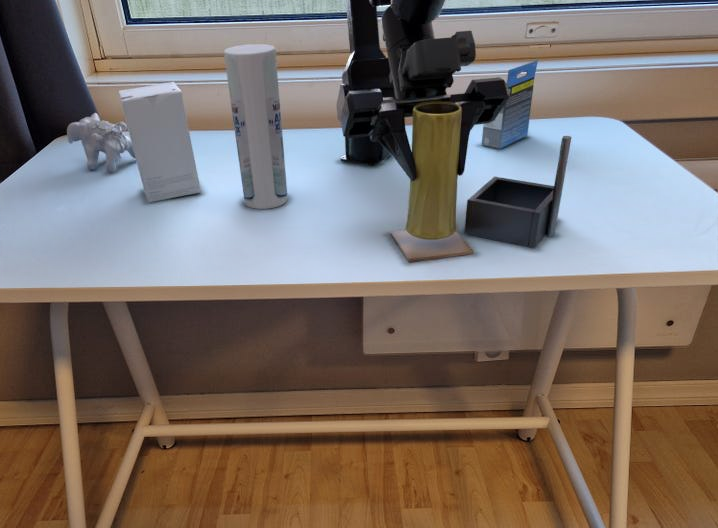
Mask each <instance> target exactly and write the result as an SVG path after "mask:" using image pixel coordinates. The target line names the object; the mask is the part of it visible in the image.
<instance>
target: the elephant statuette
mask: <svg viewBox="0 0 718 528" xmlns="http://www.w3.org/2000/svg"><path fill="white" fill-rule="evenodd" d="M126 130H128V127H127V123H126V122H124V121H121V120H119V121H118V122H116V123H112V122H109V120H104V119H102V120H101V118H100V116H99V114H98V113H96V112H94V113H92V114H91V115H90V116H85V117H84V118H81V119H79V121H74V122H71V123H69V124H68V126H67V128H66V135H67V142H68V143H69V144H70V145H72V144H73V143H75V142H79V141H81V145H82V148H83V150H84V153H85V156H86V159H87V163H86V166H87V168H88V169H90V170H96V169H97V168H98V162H99V161H98V160H99V158H100V157H99V156H100V152H101V153H104V154H105V169H106V171H107V172H109V173H113V172H115V171H116V169H117V167H116V160H117V159H118V157H119V159H122V155H121V154H123V153H125V152H126V151H127V152H128V153H129V155H130V157H132V158H133V159H135V160H136V158H135V154H134V150H133V146H132V142H131V139H130V136H128V135H126V134H125V133H124V132H125V131H126Z"/></svg>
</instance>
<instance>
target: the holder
mask: <svg viewBox="0 0 718 528" xmlns="http://www.w3.org/2000/svg"><path fill="white" fill-rule="evenodd" d="M571 142H572V136H571V135H562V137H561V142H560V148H559V154H558V160H557V167H556V172H555V178H554V185H550V184H543V183H538V182H532V181H525V180H520V179H512V178H508V177H507V178H506V177H501V176H493V177H491V179H489V180H488V181H487V182H486V183H485V184H483V186H481V187H480V188H479V189H478V190H476V192H475V193H473V194H472V195H471V196H470V197H469V198H467V200H466V211H465V220H464V221H465V222H464V235H468V236H473V237H477V238H478V237H479V238H482V239H486V240H493V241H498V242H502V243H506V244H512V245H516V246H521V247H526V248H531V249H536V247H537V246H538V245H539V243H540V242H541V241H542V240H543V239H544V238H545V236H547V237H551V238H552V237H554V236H555V234H556V229H557V222H558V219H559V218H558V217H559V212H560V207H561V200H562V196H563V195H562V194H563V188H564V182H565V179H566V178H565V177H566V171H567V167H568V166H567V165H568V161H569V160H568V159H569V154H570V148H571Z"/></svg>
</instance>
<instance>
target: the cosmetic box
mask: <svg viewBox="0 0 718 528" xmlns="http://www.w3.org/2000/svg"><path fill="white" fill-rule="evenodd" d="M118 96H119V99H120V104H121V107H122V112H123V116H124V120H125V124H126V125H127V131H128V135H129V138H130V139H131V142H132V146H133V150H134V154H135V158H136V159H135V158H134V159H135V161H136V164H137V165H136V166H137V168H138V169H137V170H138V173H139V176H140V180H141V184H142V188H143V191H144V194H145V198H146V200H147V203H153V202H159V201H164V200H169V199H174V198H179V197H184V196H190V195H191V196H192V195H195V194H200V193H202V188H201V185H200V184H201V183H200V178H199V174H198V169H197V165H196V159H195V153H194V150H193V144H192V138H191V133H190V128H189V124H188V118H187V113H186V108H185V104H184V97H183V92H182V90H181V89H180V88H179V87H178V85H177V84H176V82H175V81H170V82H164V83H159V84H153V85H146V86H141V87H135V88H128V89H127V88H126V89H121V90H118Z"/></svg>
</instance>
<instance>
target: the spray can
mask: <svg viewBox="0 0 718 528" xmlns="http://www.w3.org/2000/svg"><path fill="white" fill-rule="evenodd" d="M276 50H277V49H276V47H275V46H274V45H272V44H265V43H253V44H252V43H251V44H242V45H240V44H239V45H235V46H234V45H233V46H230V47H227V48H225V49H224V51H223V57H224V62H225V71H226V79H227V84H228V91H229V99H230V106H231V113H232V121H233V122H232V123H233V129H234V135H235V143H236V150H237V151H236V152H237V157H238V163H239V164H238V165H239V172H240V179H241V187H242V193H243V199H244V203H245V205H246V206H247V207H249V208H252V209H257V210H268V209H274V208H277V207H280V206H283V205H284V204H285V203H286V202H287V201H288V186H287V184H288V183H287V173H286V161H285V146H284V137H283V136H284V135H283V124H282V113H281V99H280V88H279V76H278V74H279V73H278V62H277V53H276V52H277V51H276Z"/></svg>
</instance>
